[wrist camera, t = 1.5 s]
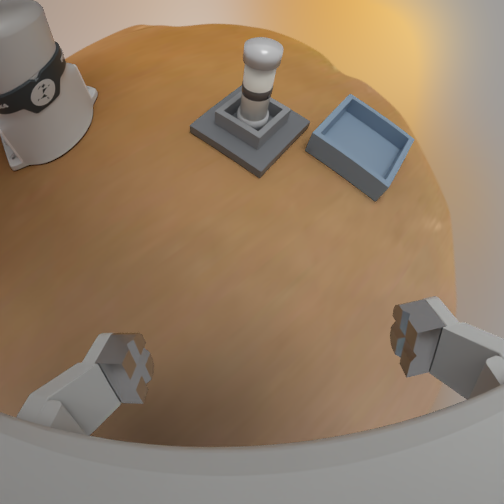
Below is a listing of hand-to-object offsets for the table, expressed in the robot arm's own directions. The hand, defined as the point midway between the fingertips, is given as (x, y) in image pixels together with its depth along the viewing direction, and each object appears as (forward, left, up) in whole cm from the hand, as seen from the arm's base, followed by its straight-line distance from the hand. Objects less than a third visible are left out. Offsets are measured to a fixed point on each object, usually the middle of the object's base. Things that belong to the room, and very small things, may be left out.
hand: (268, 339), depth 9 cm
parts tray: (-2, +32, -24) cm, 40 cm away
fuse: (-16, +24, -23) cm, 37 cm away
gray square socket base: (-16, +24, -24) cm, 38 cm away
